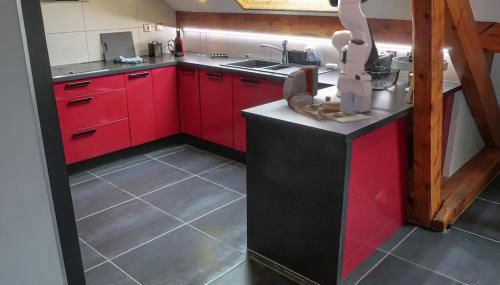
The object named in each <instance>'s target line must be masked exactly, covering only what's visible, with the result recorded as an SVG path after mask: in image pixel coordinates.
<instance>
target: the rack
mask: <svg viewBox="0 0 500 285" xmlns="http://www.w3.org/2000/svg"><path fill="white" fill-rule="evenodd" d="M331 99H332V97H331V96H330V95H327V96H325V99H324V101H330V102H332V100H331ZM300 102H301V101H300V100H295V109H294V112H295V113H299V114H302V115H303V116H306V117H309V118H312V119H315V120H316V121H319V122H322V121H321V120H323V121H327V120H333V118H339V117H346V116H352V115H355V111H349V112H338V113H331V114H328V113H323V110H324V109H323V108H320V107H321V106H322V102H321V103H313V104H312V105H306V106H300ZM313 110H317V113H316V112H313Z"/></svg>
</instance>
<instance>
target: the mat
mask: <svg viewBox="0 0 500 285" xmlns="http://www.w3.org/2000/svg"><path fill="white" fill-rule="evenodd" d="M370 119H372V118H371V116H368V115H365V114H363V113H358V114H354V115H352V116H346V117H339V118H333V119H332V120H333V121H335V122H337V123H340V122H341V123H340V124H346V123H351V122H357V121H364V120H370Z"/></svg>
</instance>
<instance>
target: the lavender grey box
mask: <svg viewBox="0 0 500 285" xmlns="http://www.w3.org/2000/svg"><path fill="white" fill-rule="evenodd" d="M354 98H355V94H352V91H349V90H346V91H341V97H340V101H339V102H340V111H341V112H349V111H354V112H355V111H356V110H362V104H363V97H362V96H360V97H359V98H358V100H357V103H353V99H354Z"/></svg>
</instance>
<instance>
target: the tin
mask: <svg viewBox="0 0 500 285" xmlns="http://www.w3.org/2000/svg"><path fill="white" fill-rule="evenodd" d="M295 100H300V101H301V102H300V106H306V105H314V100H315V99H314V97H313V96H312V95H311V94H310V93H293V94H291V95H290V96H289V97H288V100H287V101H286V103H287V105H288V107H289V108H292V109H294V110H295Z"/></svg>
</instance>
